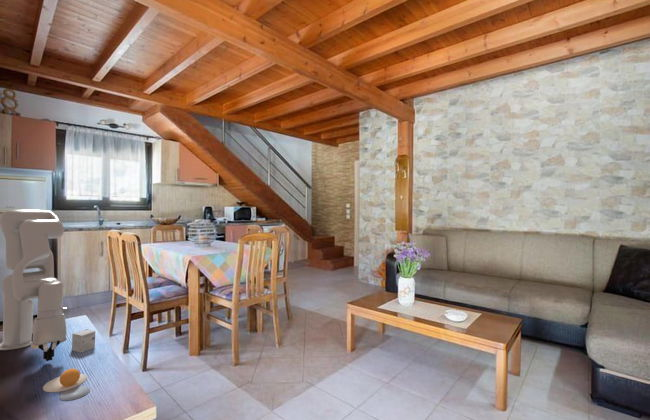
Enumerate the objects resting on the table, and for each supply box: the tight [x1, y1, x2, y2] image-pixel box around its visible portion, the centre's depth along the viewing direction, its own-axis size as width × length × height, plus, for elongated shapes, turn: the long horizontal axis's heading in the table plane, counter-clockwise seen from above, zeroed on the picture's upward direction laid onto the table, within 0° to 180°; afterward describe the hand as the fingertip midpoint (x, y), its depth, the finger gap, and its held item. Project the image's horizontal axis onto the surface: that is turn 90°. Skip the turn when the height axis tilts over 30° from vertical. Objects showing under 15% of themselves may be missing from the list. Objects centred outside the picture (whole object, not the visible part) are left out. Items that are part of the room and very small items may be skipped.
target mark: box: [42, 373, 88, 393], centre depth 113 cm, size 12×12×1 cm
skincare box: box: [71, 328, 96, 353], centre depth 140 cm, size 6×6×7 cm
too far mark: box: [59, 386, 91, 402], centre depth 107 cm, size 8×8×1 cm
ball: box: [59, 367, 81, 387], centre depth 111 cm, size 6×6×6 cm
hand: (48, 359), depth 126 cm, fingers closed
